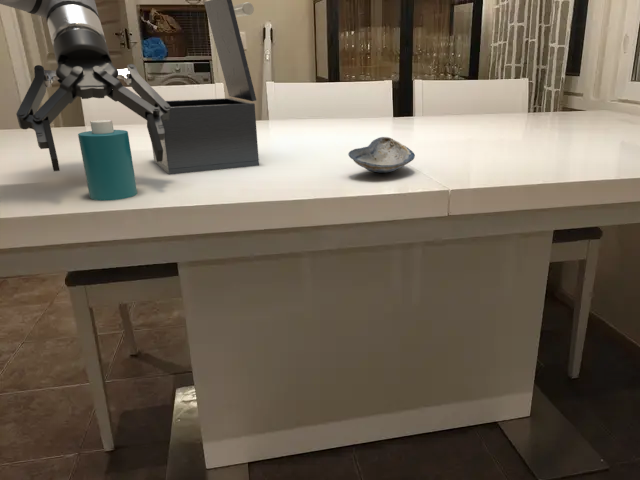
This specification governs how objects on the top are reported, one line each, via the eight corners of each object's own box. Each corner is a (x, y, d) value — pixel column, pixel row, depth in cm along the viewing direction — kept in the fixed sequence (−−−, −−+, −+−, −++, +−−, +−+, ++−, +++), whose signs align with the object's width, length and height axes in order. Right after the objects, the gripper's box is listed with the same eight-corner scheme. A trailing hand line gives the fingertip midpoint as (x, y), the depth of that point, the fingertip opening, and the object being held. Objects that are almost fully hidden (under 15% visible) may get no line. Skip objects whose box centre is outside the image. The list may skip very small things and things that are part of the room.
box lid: (225, -5, 90) (257, -10, 92) (203, 2, 101) (232, -3, 103) (252, 101, 98) (281, 94, 100) (229, 96, 109) (255, 89, 111)
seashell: (332, 166, 101) (332, 138, 99) (397, 162, 105) (397, 135, 103) (356, 184, 88) (356, 152, 86) (429, 179, 91) (431, 148, 89)
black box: (169, 175, 95) (160, 107, 91) (154, 161, 106) (145, 101, 102) (259, 166, 102) (254, 103, 98) (236, 154, 113) (231, 98, 109)
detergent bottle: (92, 203, 77) (77, 124, 73) (88, 193, 82) (74, 119, 78) (140, 197, 80) (129, 121, 76) (133, 188, 85) (122, 117, 81)
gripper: (163, 63, 94) (196, 167, 87) (-11, 65, 82) (12, 185, 76) (166, 27, 87) (201, 136, 81) (-23, 25, 76) (1, 152, 69)
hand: (110, 160), depth 78 cm, fingers open, 13 cm apart
